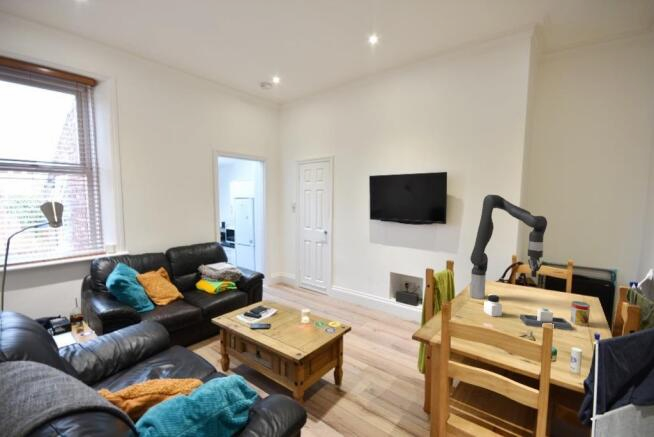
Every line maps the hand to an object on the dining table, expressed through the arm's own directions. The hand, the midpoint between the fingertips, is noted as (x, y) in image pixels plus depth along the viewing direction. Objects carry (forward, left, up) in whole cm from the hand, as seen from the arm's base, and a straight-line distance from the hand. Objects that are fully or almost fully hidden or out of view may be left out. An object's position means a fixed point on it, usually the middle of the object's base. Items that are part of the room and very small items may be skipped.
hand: (533, 276), depth 176 cm
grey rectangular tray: (+3, -10, -25) cm, 27 cm away
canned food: (+23, -4, -25) cm, 34 cm away
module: (+3, -10, -24) cm, 26 cm away
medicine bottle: (-22, -2, -25) cm, 34 cm away
